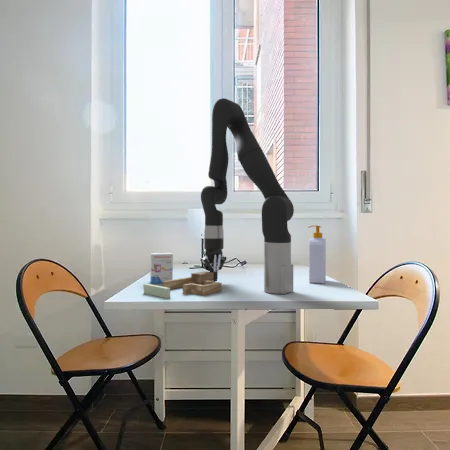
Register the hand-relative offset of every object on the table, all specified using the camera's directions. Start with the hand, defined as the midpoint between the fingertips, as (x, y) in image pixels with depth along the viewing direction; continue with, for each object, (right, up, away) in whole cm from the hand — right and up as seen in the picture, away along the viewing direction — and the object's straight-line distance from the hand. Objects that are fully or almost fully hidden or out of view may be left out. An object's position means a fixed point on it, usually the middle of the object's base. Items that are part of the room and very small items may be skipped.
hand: (213, 281), depth 138 cm
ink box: (-21, -1, +4) cm, 22 cm away
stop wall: (-18, -1, -22) cm, 28 cm away
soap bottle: (+42, -1, +5) cm, 42 cm away
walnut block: (-4, -1, -5) cm, 6 cm away
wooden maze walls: (-7, -1, -12) cm, 14 cm away
